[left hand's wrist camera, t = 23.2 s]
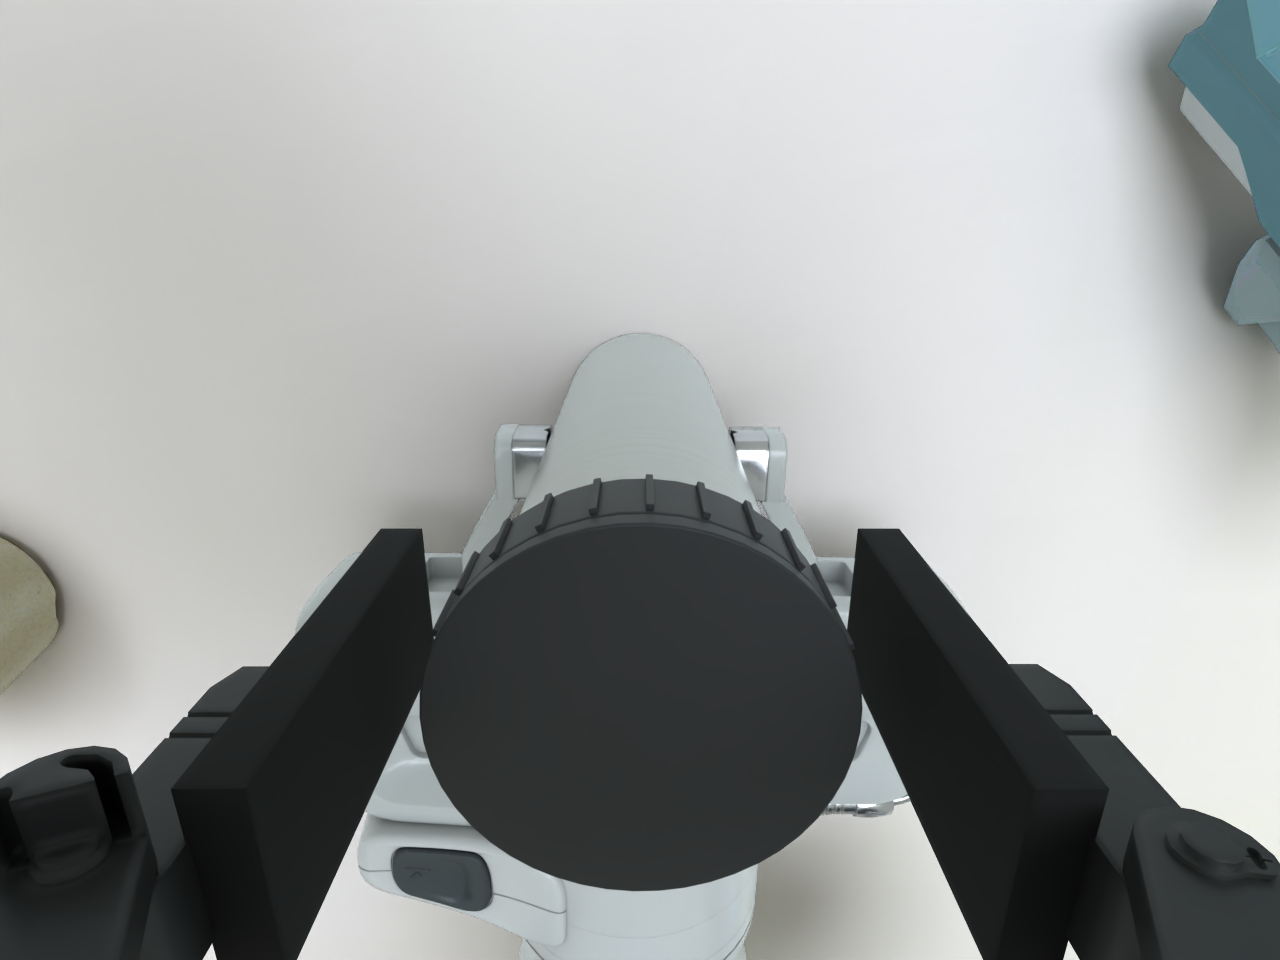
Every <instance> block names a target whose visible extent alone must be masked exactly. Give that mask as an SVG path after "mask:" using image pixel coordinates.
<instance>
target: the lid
mask: <svg viewBox="0 0 1280 960" xmlns="http://www.w3.org/2000/svg"><path fill="white" fill-rule="evenodd" d="M836 607H837V604H836V602H835V600H834V598H833V596H832V594H831V592H830V590H829V588H828V586H827V584H826V582H825V580H824V578H823V576H822V574H821V572H820V570H819V568H818V566H817V565H816V563H814V564H812V565H810V564H809V562H808V561H807V559H806V558H805V556H804V555H803V554H802V553H801V552H800V550H799V549H798V548H797V546H796V544H795V542H794V540H793V538H792V536H791V533H790V531H789V530H787V529H786V528H784V529H783V530H782V531H781V530H780V529H779V528H778V527H777V526H775V525H774V524H773V523H772V522H770V521H769V520H768V519H766V518H765V517H763V516H762V515H760V514H759V513H758V512H756V511H755V510H754V509H753V507H752V504H751V502H749V501H747V500H745V501H744V502H743V504H742V503H740V502H738V501H736V500H734V499H733V498H731V497H729V496H726V495H723V494H721V493H718V492H715V491H712V490H710V489H707V488H705V484H704V483H702V482H699V481H698V482H697V484H696V485H691V484H687V483H682V482H678V481H670V480H660V479H653V474H646V478H645V479H619V480H612V481H606V482H602V481H601V478H596V479H594V480H593V484H590V485H586V486H582V487H579V488H575V489H572V490H568V491H566V492H563V493H561V494H559V495H556V496H554V497H553V495H552V493H549V494H547V495H545V497H544V500H543V501H542V502H541V503H539V504H537V505H536V506H534V507H532V508H530V509H529V510H527V511H525V512H524V513H522V514H520V515H519V516H518V517H517V518H515V519H514V520H513V521H511V520H510V519H509V518H507V519H506V520H504V521H503V524H502V526H501V528H500V530H499V532H498V533H497V534H496V535H495V536H494V537H493V538H492V539H491V541H490V542H489V543H488V544H487V545H486V546H485V547H484V548H483V549H482V551H481V552H480V553H478V552H476V551H474V552H473V554H472V555H471V557H470V559H469V561H468V563H467V565H466V567H465V569H464V571H463V573H462V576H461V578H460V580H459V582H458V584H457V586H456V588H455V590H454V589H453V590H452V591H451V594H450V596H449V598H448V600H447V602H446V604H445V606H444V608H443V610H442V612H441V614H440V616H439V618H438V620H437V622H436V624H435V626H434V628H433V630H432V633H431V635H432V636H435V639H434V641H433V643H432V645H431V648H430V651H429V654H428V657H427V660H426V663H425V666H424V670H423V673H422V682H421V688H420V715H419V718H420V724H421V731H422V737H423V743H424V746H425V749H426V752H427V756H428V759H429V762H430V765H431V767H432V769H433V771H434V774H435V776H436V778H437V780H438V782H439V784H440V786H441V788H442V789H443V791H444V792H445V794H446V795H447V797H448V798H449V800H450V801H451V803H452V804H453V806H454V807H455V808H456V809H457V810H458V812H459V813H460V814H461V815H462V816H463V817H464V818H465V819H466V821H467V822H468V823H469V824H470V825H471V826H472V827H473V828H474V829H475V830H477V831H478V832H479V833H480V834H481V835H482V836H483V837H484V838H486V839H487V840H488V841H489V842H490V843H492V844H493V845H495V846H496V847H498V848H499V849H501V850H502V851H503V852H505V853H506V854H508V855H509V856H511V857H513V858H515V859H517V860H518V861H520V862H522V863H524V864H526V865H528V866H530V867H532V868H534V869H536V870H539V871H541V872H544V873H546V874H549V875H551V876H554V877H556V878H559V879H563V880H566V881H570V882H573V883H577V884H580V885H586V886H591V887H597V888H602V889H609V890H622V891H662V890H671V889H679V888H686V887H691V886H695V885H700V884H704V883H709V882H712V881H715V880H718V879H722V878H725V877H728V876H731V875H734V874H736V873H738V872H741V871H743V870H745V869H747V868H749V867H752V866H754V865H756V864H758V863H760V862H762V861H763V860H765V859H767V858H768V857H770V856H772V855H773V854H775V853H777V852H779V851H780V850H781V849H783V848H784V847H785V846H787V845H788V844H789V843H791V842H792V841H793V840H795V839H796V838H797V837H799V836H800V835H801V834H802V833H803V832H804V831H805V830H806V829H807V828H808V827H809V826H810V825H811V824H812V823H813V822H814V821H815V820H816V819H817V818H818V817H819V816H820V815H821V813H822V812H823V811H824V810H825V808H826V807H827V806H828V805H829V803H830V802H831V801H832V800H833V798H834V796H835V795H836V793H837V791H838V790H839V788H840V786H841V785H842V783H843V781H844V780H845V778H846V775H847V773H848V770H849V768H850V766H851V763H852V761H853V758H854V756H855V752H856V748H857V744H858V740H859V736H860V731H861V720H862V709H863V707H862V692H861V682H860V677H859V673H858V669H857V664H856V660H855V657H854V655H853V652H852V650H855V646H854V643H853V641H852V639H851V637H850V635H849V633H848V631H847V629H846V627H845V625H844V623H843V621H842V619H841V617H840V615H839V613H838V611H837V609H836Z"/></svg>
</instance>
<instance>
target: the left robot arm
mask: <svg viewBox="0 0 1280 960" xmlns="http://www.w3.org/2000/svg"><path fill="white" fill-rule="evenodd" d="M432 630H433V625H432V616H431V607H430V597H429V588H428V579H427V570H426V561H425V552H424V543H423V534H422V529H380V531H379V532H378V533H377V534H376V536H375V537H374V538H373V539H372V541H371V542H370V543H369V544H368V545H367V547H366V548H365V549H364V550H363V552H362V553H361V554H360V555H359V557H358V558H357V559H356V560H355V562H354V563H353V564H352V565H351V567H350V568H349V569H348V570H347V571H346V573H345V574H344V575H343V576H342V578H341V579H340V580H339V581H338V583H337V584H336V585H335V586H334V588H333V589H332V590H331V591H330V592H329V594H328V595H327V596H326V597H325V599H324V600H323V601H322V602H321V604H320V605H319V606H318V607H317V609H316V610H315V611H314V612H313V613H312V615H311V616H310V617H309V618H308V620H307V621H306V622H305V623H304V625H303V626H302V627H301V628H300V630H299V631H298V632H297V633H296V635H295V636H294V637H293V638H292V639H291V641H290V642H289V643H288V644H287V646H286V647H285V648H284V649H283V651H282V652H281V653H280V654H279V656H278V657H277V658H276V659H275V660H274V662H273V663H272V664H271V665H270V667H242V668H240V669H239V670H237V671H235V672H234V673H232V674H231V675H229V676H228V677H226V678H225V679H223V680H221V681H220V682H218V683H217V684H215V685H214V686H212V687H211V688H210V689H209V690H208V691H207V692H206V693H205V694H204V695H203V696H202V697H201V699H200V700H199V701H198V702H197V703H196V704H195V705H194V706H193V707H192V709H191V710H190V711H189V712H188V717H184V718H183V719H182V720H181V721H180V722H179V723H178V724H177V725H176V726H175V728H174V729H173V730H172V731H171V732H170V736H169V738H165V739H164V740H163V741H162V742H161V743H160V744H159V745H158V747H157V748H156V749H155V750H154V751H153V752H152V753H151V754H150V755H149V757H148V758H147V759H146V760H145V761H144V762H143V763H142V764H141V765H140V767H139V768H138V769H137V770H136V771H135V772H134V773H133V774H132V773H131V769H130V766H129V762H128V759H127V757H126V756H124V755H123V754H122V753H120V752H119V751H118V750H116V749H113V748H106V747H99V746H90V747H82V748H74V749H67V750H64V751H61V752H57V753H54V754H51V755H48V756H45V757H42V758H39V759H36V760H34V761H32V762H30V763H28V764H26V765H24V766H22V767H20V768H18V769H16V770H14V771H12V772H10V773H8V774H6V775H5V776H3V777H2V778H1V779H0V960H203V958H204V956H205V954H206V953H207V951H208V949H209V948H210V946H211V944H212V943H213V947H214V951H215V954H216V958H217V960H297V958H298V956H299V954H300V952H301V949H302V947H303V945H304V943H305V941H306V938H307V936H308V934H309V932H310V930H311V927H312V925H313V923H314V921H315V919H316V917H317V914H318V912H319V910H320V908H321V906H322V903H323V901H324V899H325V897H326V895H327V892H328V890H329V888H330V886H331V884H332V882H333V879H334V877H335V875H336V873H337V871H338V868H339V866H340V864H341V862H342V860H343V857H344V855H345V853H346V851H347V849H348V847H349V844H350V842H351V840H352V838H353V836H354V833H355V831H356V829H357V827H358V825H359V822H360V820H361V818H362V816H363V814H364V811H365V809H366V807H367V805H368V803H369V801H370V798H371V796H372V794H373V792H374V790H375V787H376V785H377V783H378V781H379V779H380V776H381V774H382V772H383V770H384V768H385V766H386V763H387V761H388V759H389V757H390V755H391V752H392V750H393V748H394V746H395V744H396V741H397V739H398V737H399V735H400V733H401V730H402V728H403V726H404V724H405V722H406V720H407V717H408V715H409V713H410V711H411V709H412V706H413V704H414V702H415V700H416V698H417V695H418V693H419V691H420V688H421V682H422V673H423V670H424V666H425V663H426V660H427V657H428V654H429V651H430V648H431V645H432V643H433V641H434V636H432V635H431V633H432ZM847 631H848V633H849V635H850V637H851V639H852V641H853V643H854V646H855V650H852V652H853V655H854V657H855V660H856V664H857V669H858V673H859V677H860V682H861V692H862V695H863V698H864V700H865V702H866V704H867V706H868V709H869V711H870V713H871V715H872V717H873V720H874V722H875V724H876V726H877V728H878V730H879V733H880V735H881V737H882V739H883V741H884V744H885V746H886V748H887V750H888V752H889V755H890V757H891V759H892V761H893V763H894V766H895V768H896V770H897V772H898V774H899V776H900V779H901V781H902V783H903V785H904V787H905V790H906V792H907V794H908V796H909V798H910V801H911V803H912V805H913V807H914V809H915V811H916V814H917V816H918V818H919V820H920V822H921V825H922V827H923V829H924V831H925V833H926V836H927V838H928V840H929V842H930V844H931V846H932V849H933V851H934V853H935V855H936V857H937V860H938V862H939V864H940V866H941V868H942V871H943V873H944V875H945V877H946V879H947V882H948V884H949V886H950V888H951V890H952V892H953V895H954V897H955V899H956V901H957V903H958V906H959V908H960V910H961V912H962V914H963V917H964V919H965V921H966V923H967V925H968V927H969V930H970V932H971V934H972V936H973V938H974V941H975V943H976V945H977V947H978V949H979V952H980V954H981V956H982V958H983V960H1063V958H1064V954H1065V951H1066V947H1067V943H1068V940H1069V942H1070V944H1071V945H1072V947H1073V949H1074V951H1075V952H1076V954H1077V956H1078V957H1079V959H1080V960H1280V863H1279V862H1278V860H1277V859H1276V857H1275V856H1274V855H1273V854H1272V853H1270V852H1269V851H1268V850H1267V849H1266V848H1265V847H1263V846H1262V845H1261V844H1260V843H1259V842H1257V841H1256V840H1255V839H1254V838H1253V837H1251V836H1250V835H1248V834H1246V833H1245V832H1243V831H1241V830H1239V829H1237V828H1236V827H1234V826H1232V825H1230V824H1229V823H1227V822H1225V821H1223V820H1221V819H1218V818H1215V817H1213V816H1210V815H1207V814H1204V813H1201V812H1199V811H1196V810H1192V809H1185V808H1181V807H1180V806H1179V805H1178V804H1177V803H1176V802H1175V801H1174V800H1173V798H1172V797H1171V796H1170V795H1169V794H1168V793H1167V792H1166V791H1165V790H1164V788H1163V787H1162V786H1161V785H1160V784H1159V783H1158V782H1157V781H1156V780H1155V778H1154V777H1153V776H1152V775H1151V774H1150V773H1149V772H1148V771H1147V770H1146V769H1145V767H1144V766H1143V765H1142V764H1141V763H1140V762H1139V761H1138V760H1137V759H1136V757H1135V756H1134V755H1133V754H1132V753H1131V752H1130V751H1129V750H1128V749H1127V747H1126V746H1125V745H1124V744H1123V743H1122V742H1121V741H1120V740H1119V739H1118V737H1117V736H1112V735H1111V730H1110V729H1109V728H1108V726H1107V725H1106V724H1105V723H1104V722H1103V721H1102V720H1101V719H1100V718H1099V716H1098V715H1093V712H1092V709H1091V708H1090V706H1089V705H1088V704H1087V703H1086V702H1085V701H1084V700H1083V699H1082V698H1081V696H1080V695H1079V694H1078V693H1077V692H1076V691H1075V690H1074V689H1073V688H1072V687H1071V685H1069V684H1068V683H1066V682H1065V681H1063V680H1061V679H1060V678H1058V677H1057V676H1055V675H1054V674H1052V673H1050V672H1049V671H1047V670H1046V669H1044V668H1043V667H1041V666H1039V665H1038V664H1008V663H1007V662H1006V660H1005V659H1004V658H1003V657H1002V656H1001V654H1000V653H999V652H998V651H997V649H996V648H995V647H994V646H993V644H992V643H991V642H990V641H989V639H988V638H987V637H986V636H985V635H984V633H983V632H982V631H981V630H980V628H979V627H978V626H977V625H976V623H975V622H974V621H973V620H972V618H971V617H970V616H969V615H968V613H967V612H966V611H965V610H964V609H963V607H962V606H961V605H960V604H959V602H958V601H957V600H956V599H955V597H954V596H953V595H952V594H951V592H950V591H949V590H948V589H947V588H946V586H945V585H944V584H943V583H942V581H941V580H940V579H939V578H938V576H937V575H936V574H935V573H934V571H933V570H932V569H931V568H930V567H929V565H928V564H927V563H926V562H925V560H924V559H923V558H922V557H921V555H920V554H919V553H918V552H917V550H916V549H915V548H914V547H913V545H912V544H911V543H910V542H909V541H908V539H907V538H906V537H905V536H904V534H903V533H902V532H901V531H900V529H858V534H857V543H856V552H855V561H854V570H853V579H852V588H851V597H850V607H849V616H848V625H847Z"/></svg>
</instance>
